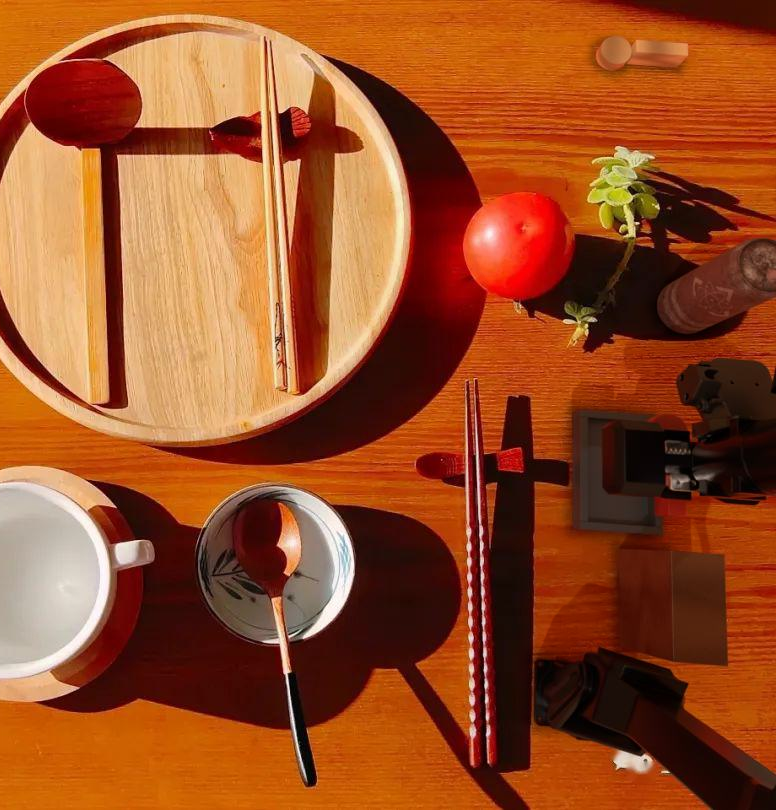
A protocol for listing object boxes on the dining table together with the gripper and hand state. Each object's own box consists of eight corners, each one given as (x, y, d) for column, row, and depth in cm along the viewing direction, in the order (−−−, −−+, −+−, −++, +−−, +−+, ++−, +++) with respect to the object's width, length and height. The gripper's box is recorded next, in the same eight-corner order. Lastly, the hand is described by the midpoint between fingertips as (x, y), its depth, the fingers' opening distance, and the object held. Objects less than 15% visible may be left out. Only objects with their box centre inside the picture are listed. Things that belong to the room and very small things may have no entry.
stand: (666, 650, 79) (728, 666, 69) (618, 646, 79) (673, 662, 69) (664, 552, 81) (724, 554, 71) (617, 548, 81) (671, 550, 71)
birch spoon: (676, 48, 91) (688, 35, 89) (676, 75, 91) (688, 63, 88) (595, 42, 91) (605, 29, 89) (595, 69, 91) (605, 57, 88)
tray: (653, 535, 81) (663, 535, 79) (572, 529, 81) (580, 528, 79) (651, 418, 83) (661, 415, 81) (572, 412, 83) (580, 409, 81)
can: (708, 340, 85) (801, 302, 71) (651, 329, 85) (733, 288, 71) (713, 289, 86) (806, 241, 72) (657, 278, 86) (738, 228, 72)
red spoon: (682, 517, 72) (697, 517, 70) (643, 514, 72) (657, 514, 70) (679, 417, 74) (694, 413, 71) (642, 414, 74) (655, 410, 71)
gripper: (897, 360, 59) (758, 398, 74) (652, 342, 59) (565, 383, 74) (908, 507, 57) (763, 514, 72) (655, 487, 57) (564, 498, 72)
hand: (663, 473), depth 73 cm, fingers closed on red spoon, 1 cm apart
